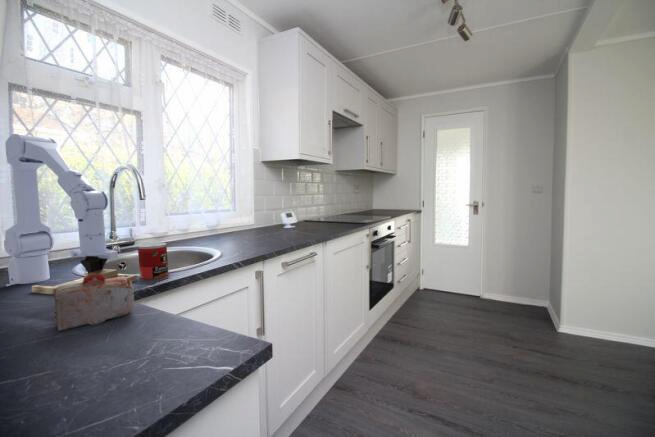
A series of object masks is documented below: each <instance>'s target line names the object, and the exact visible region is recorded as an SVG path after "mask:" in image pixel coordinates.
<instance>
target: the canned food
mask: <svg viewBox="0 0 655 437" xmlns="http://www.w3.org/2000/svg"><path fill="white" fill-rule="evenodd" d="M137 255H138V265H139V266H138V267H139V277H140V279H141V280H155V279H161V278H162V280H158V281H157V283H158V282H162V281H163V282H164V281H166V280H168V276H169V261H168V259H169V258H168V246H167V242H161V241H160V242H147V243H141V244H139V245H137ZM165 277H166V278H165ZM163 278H164V279H163Z"/></svg>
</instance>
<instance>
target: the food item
mask: <svg viewBox="0 0 655 437" xmlns="http://www.w3.org/2000/svg"><path fill="white" fill-rule="evenodd" d="M83 278H84V281H83V282H80V283H74V284H70V285H62V286H59V287H57V288H56V289H54V291H53V293H54V294H53V295H54V296H53V297H54V303H55V312H54V319H55V326H56V327H57V331H58V332H61V331H65V330H69V329H73V328H77V327H81V326H85V325H98V324H100V323H104V322H105V321H107V320H110V319H111V320H112V319H115V318H119V317H123V316H126V315H128V314H129V313H130V312H132V311H133V309H134V308H135V295H134V292H135V291H134V290H135V288H134V286H133V282H131V281H130V280H128V279H127V278H126V276H122V277H116V278H110V279H105V278H104V276H102V275H90V276H88V275H87V276H86V277H85V276H84V277H83Z"/></svg>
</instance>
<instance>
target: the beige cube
mask: <svg viewBox="0 0 655 437" xmlns="http://www.w3.org/2000/svg"><path fill="white" fill-rule="evenodd" d="M118 274H119V273H118V269H113V268H112V269H111V268H103V269H102V270H99V271H95V272H91V273H89V276H90V275H102V276H104V278H105V279H110V278H116V277H118Z"/></svg>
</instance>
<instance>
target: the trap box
mask: <svg viewBox="0 0 655 437" xmlns="http://www.w3.org/2000/svg"><path fill="white" fill-rule="evenodd" d="M83 274H84V277H81V278H79V279H75V280H71V281H68V282H67V281H66V282H63V283H59V284H56V285H53V286H50V285H49V286H47V285H38V284H36V285H32V286H31V292H32V293H33V294H34V293H35V294H46V295H54V293H53V291H54V289H56V288H57V287H59V286H62V285H70V284H74V283H80V282H83V281H84V278H85V277H86V276H87V275H88V272H87V271H85V272H83ZM122 276H126V278H127V279H128V280H130V281H131V283H134V282H137V281H138V276H137V274H129V273H128V274H127V273H118V277H122Z"/></svg>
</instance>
